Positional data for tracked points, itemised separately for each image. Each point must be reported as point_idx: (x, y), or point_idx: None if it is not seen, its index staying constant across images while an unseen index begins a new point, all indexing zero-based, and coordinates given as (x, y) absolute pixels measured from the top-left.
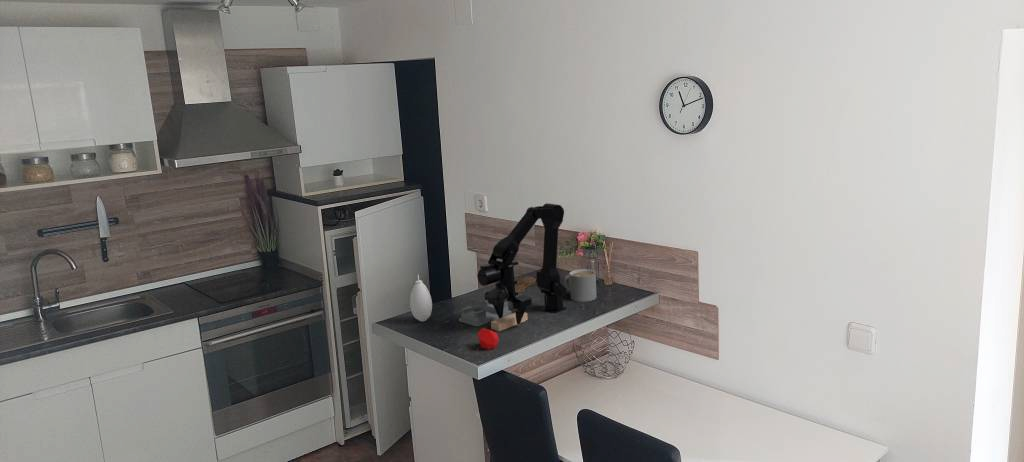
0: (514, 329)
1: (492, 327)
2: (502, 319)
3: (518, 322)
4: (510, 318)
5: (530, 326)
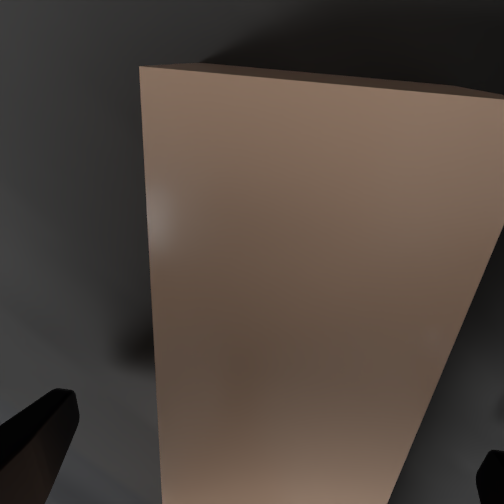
0: (56, 272)
1: (422, 83)
2: (315, 390)
3: (29, 415)
4: (203, 473)
5: (3, 422)
